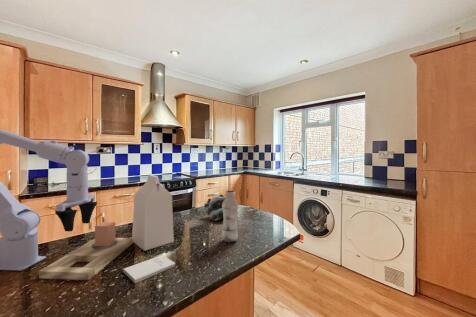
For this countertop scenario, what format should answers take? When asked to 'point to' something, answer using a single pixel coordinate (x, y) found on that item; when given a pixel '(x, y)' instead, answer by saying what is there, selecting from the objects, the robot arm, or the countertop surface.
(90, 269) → the pocket board
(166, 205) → the milk
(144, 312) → the countertop surface
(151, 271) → the external hard drive
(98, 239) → the terracotta block
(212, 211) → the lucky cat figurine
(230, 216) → the plastic bottle
